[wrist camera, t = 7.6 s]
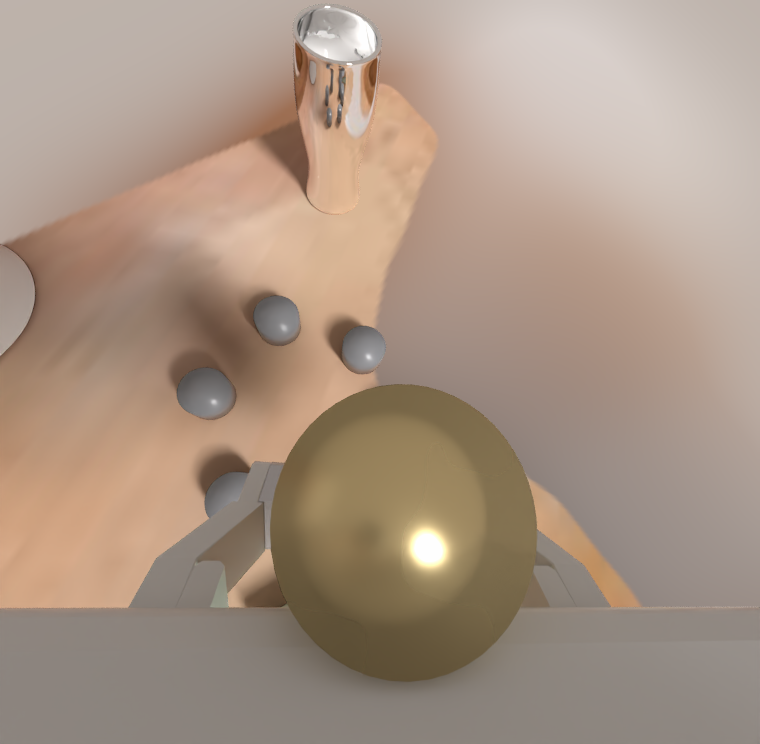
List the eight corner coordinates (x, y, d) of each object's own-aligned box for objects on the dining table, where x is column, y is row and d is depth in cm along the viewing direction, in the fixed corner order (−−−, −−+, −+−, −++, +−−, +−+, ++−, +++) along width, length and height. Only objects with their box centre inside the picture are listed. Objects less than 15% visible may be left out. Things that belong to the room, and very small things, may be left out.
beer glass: (322, 160, 40) (321, -11, 26) (373, 188, 40) (400, 31, 26) (290, 199, 38) (270, 33, 24) (344, 228, 38) (357, 80, 24)
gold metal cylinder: (334, 563, 17) (347, 760, 4) (297, 479, 18) (226, 453, 5) (410, 516, 18) (587, 571, 6) (372, 440, 19) (451, 348, 7)
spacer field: (244, 582, 27) (236, 592, 24) (154, 353, 31) (140, 342, 28) (443, 465, 32) (453, 464, 29) (344, 282, 36) (345, 269, 34)
